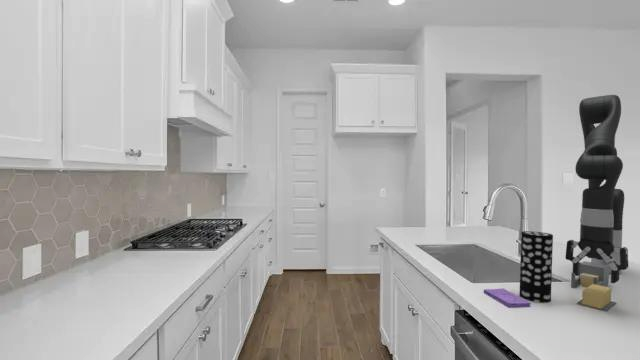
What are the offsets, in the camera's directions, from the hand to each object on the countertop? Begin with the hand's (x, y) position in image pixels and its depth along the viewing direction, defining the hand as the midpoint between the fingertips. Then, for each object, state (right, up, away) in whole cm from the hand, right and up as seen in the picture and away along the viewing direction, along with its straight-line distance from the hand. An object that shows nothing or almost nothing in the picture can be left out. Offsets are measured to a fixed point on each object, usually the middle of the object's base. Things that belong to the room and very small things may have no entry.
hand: (594, 279), depth 101 cm
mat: (+2, -8, +2) cm, 8 cm away
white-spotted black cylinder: (-14, -8, +6) cm, 17 cm away
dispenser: (+12, -8, +18) cm, 23 cm away
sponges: (-24, -8, +4) cm, 26 cm away
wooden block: (+2, -8, +2) cm, 8 cm away
